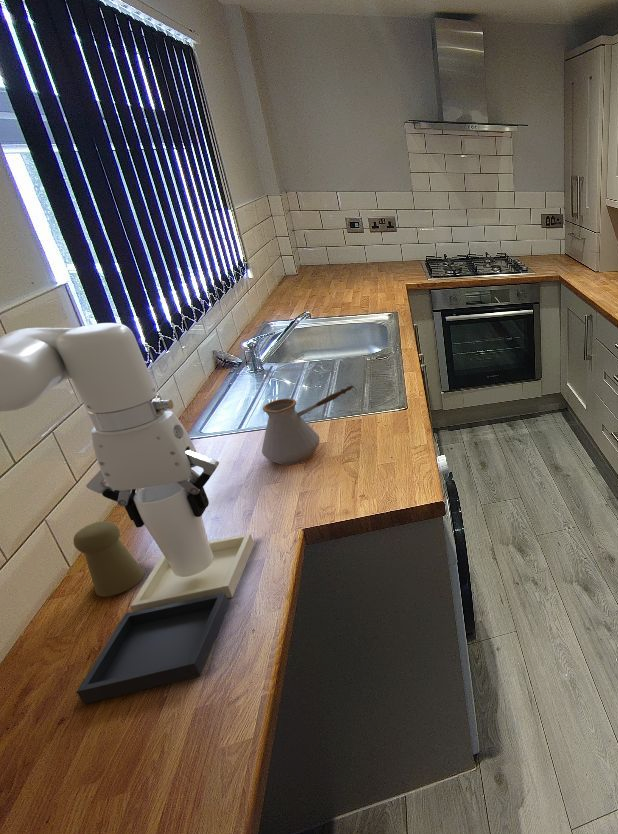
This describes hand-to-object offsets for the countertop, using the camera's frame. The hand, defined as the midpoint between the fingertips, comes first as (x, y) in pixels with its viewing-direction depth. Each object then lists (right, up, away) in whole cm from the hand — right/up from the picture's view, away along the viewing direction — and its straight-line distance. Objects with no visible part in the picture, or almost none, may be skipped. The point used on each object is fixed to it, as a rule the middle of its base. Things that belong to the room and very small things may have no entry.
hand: (173, 515), depth 80 cm
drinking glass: (0, -9, +4) cm, 10 cm away
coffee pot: (0, +5, +41) cm, 41 cm away
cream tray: (0, -11, +5) cm, 13 cm away
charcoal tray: (+4, -17, -7) cm, 19 cm away
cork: (-12, -12, +5) cm, 18 cm away
